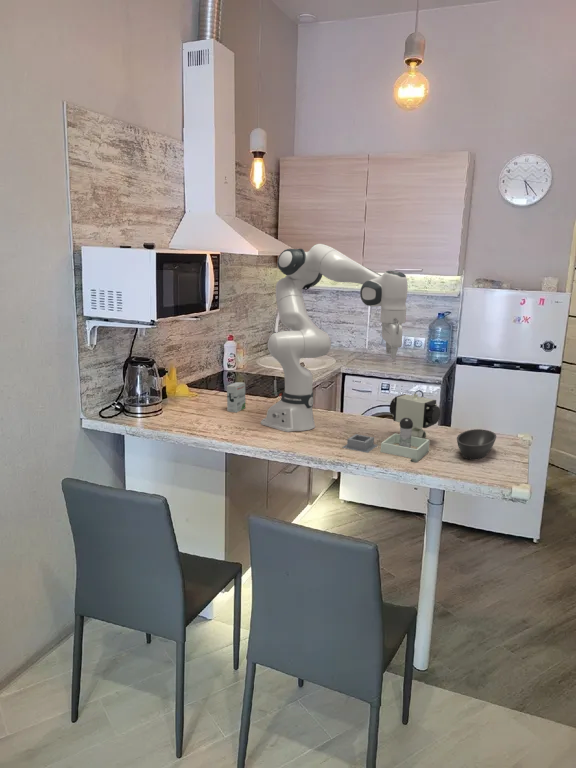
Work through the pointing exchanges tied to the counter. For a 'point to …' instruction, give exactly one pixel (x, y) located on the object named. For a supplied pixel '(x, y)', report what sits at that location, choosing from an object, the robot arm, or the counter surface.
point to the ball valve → (415, 412)
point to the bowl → (475, 443)
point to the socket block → (360, 443)
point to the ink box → (236, 397)
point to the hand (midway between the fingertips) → (390, 355)
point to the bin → (405, 451)
